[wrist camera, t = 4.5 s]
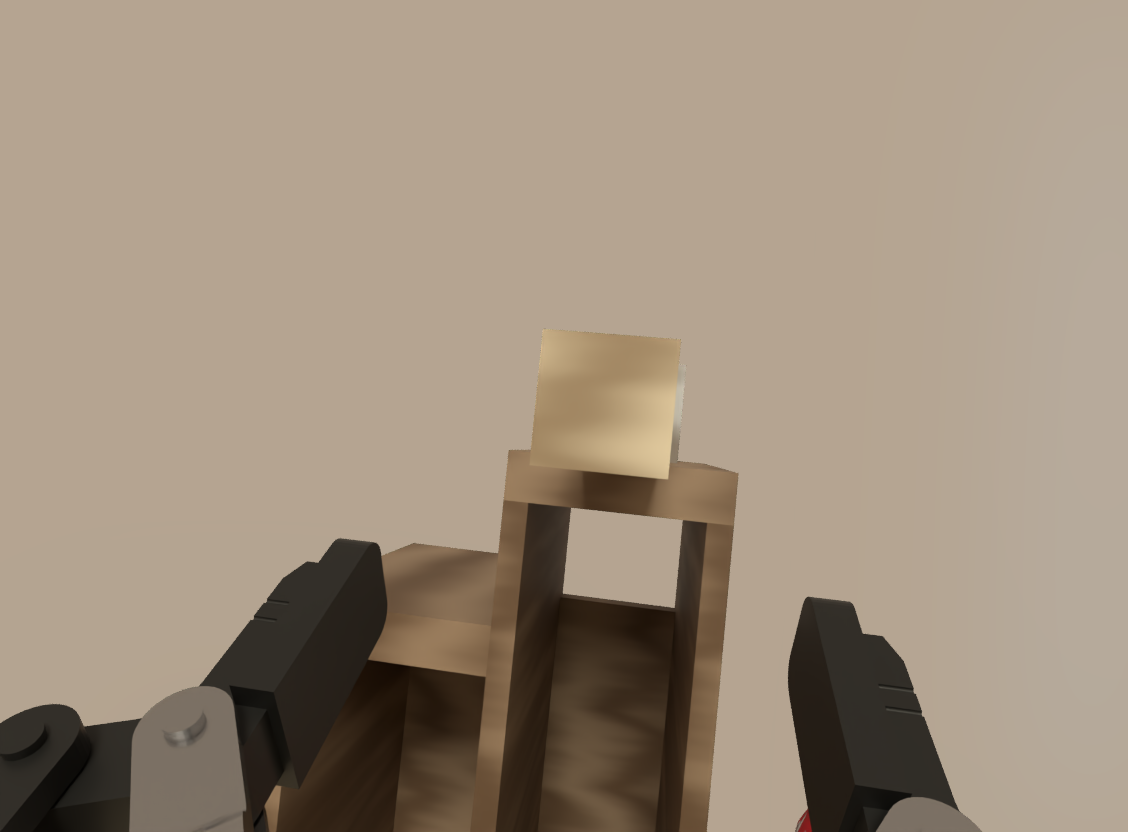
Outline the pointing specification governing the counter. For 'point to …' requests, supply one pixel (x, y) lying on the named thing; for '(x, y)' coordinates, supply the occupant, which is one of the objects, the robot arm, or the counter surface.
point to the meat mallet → (608, 403)
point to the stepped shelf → (534, 678)
